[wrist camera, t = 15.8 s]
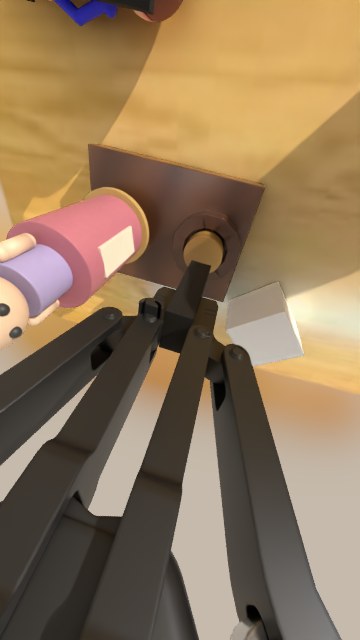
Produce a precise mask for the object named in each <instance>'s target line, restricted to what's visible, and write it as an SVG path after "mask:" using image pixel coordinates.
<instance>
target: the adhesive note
mask: <svg viewBox="0 0 360 640" xmlns="http://www.w3.org/2000/svg"><path fill="white" fill-rule="evenodd" d="M226 332H227V333H228V335H229V337H230V338H231V340H232V342H233V343H234V344H236V345H240V346H241V347H243V348H244V349H245V350H246V351H247V352H248V354H249V356H250V359H251V363H252V366H258V365H262V364H267V363H272V362H276V361H281V360H286V359H290V358H295V357H300V356H304V352H303V349H302V345H301V341H300V337H299V333H298V330H297V326H296V322H295V319H294V317H293V314H292V312H291V310H290V307H289V305H288V303H287V300H286V298H285V296H284V293H283V291H282V289H281V286H280V284H279V281H278V282H275V283H273V284H270V285H267V286H265V287H262V288H259V289H257V290H254V291H251V292H249V293H246V294H244V295H241V296H238V297H236V298H233V299H230V300H229V306H228V314H227V322H226Z"/></svg>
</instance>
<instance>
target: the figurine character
mask: <svg viewBox="0 0 360 640" xmlns="http://www.w3.org/2000/svg"><path fill="white" fill-rule="evenodd" d="M28 1H31V2H35V0H28ZM48 1H53V0H48ZM54 1H55V2H56V3H57V4H58V5H59V6H60V7H61V8H62V9H63V10H64V11H65V12H66V13H67V14H68V15H69V16H70V17H71V18H72V19H73V20H74V21H75V22H76V23H77V24H78V25H79V26H82V25H84V24H86V23H87V22H89V21H91V20H93V19H94V18H96V17H98V16H100V15H102V14H103V13H105V14H106V15H107V16H108V17H109V18H114V17H115V16H116V13H117V6H120V7H124V8H128V9H132V10H133V11H134V12H135V13H136V14H137V15H138V16H140V17H141V18H143V19H145V20H147V21H151V22H160V21H163V20H166V19H167V18H169V17H170V16H172V15H173V14H174V13H175V12H176V10H177V9H178V8H179V6H180V5H181V3H182V1H183V0H91V1H90V2H88V3H86V4H85V5H83V6H81V7H80V8H77V7H76V6H75V5H74V4H73V3H72V2H71V1H70V0H54Z"/></svg>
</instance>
